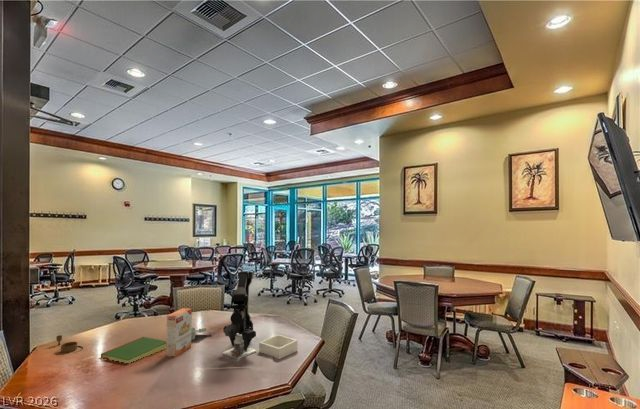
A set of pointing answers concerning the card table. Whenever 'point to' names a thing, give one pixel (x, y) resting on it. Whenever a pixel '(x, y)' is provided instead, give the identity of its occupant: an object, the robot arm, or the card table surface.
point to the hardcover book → (135, 350)
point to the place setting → (67, 345)
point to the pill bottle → (239, 345)
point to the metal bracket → (198, 332)
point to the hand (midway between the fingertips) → (239, 348)
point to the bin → (278, 346)
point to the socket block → (248, 352)
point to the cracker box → (178, 332)
